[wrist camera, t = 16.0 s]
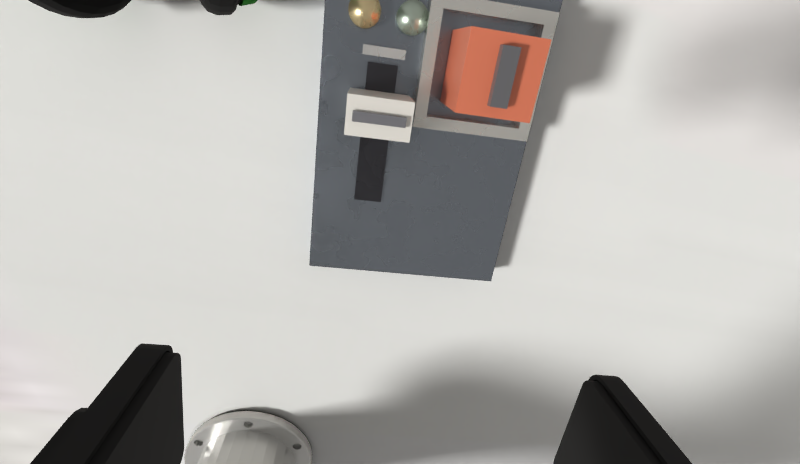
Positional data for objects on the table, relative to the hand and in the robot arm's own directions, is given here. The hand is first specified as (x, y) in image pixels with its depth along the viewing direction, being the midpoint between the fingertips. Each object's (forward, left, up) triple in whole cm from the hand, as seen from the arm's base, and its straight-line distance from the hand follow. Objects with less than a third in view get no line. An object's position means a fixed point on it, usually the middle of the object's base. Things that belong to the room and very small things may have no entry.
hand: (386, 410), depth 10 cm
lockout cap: (+7, -6, -23) cm, 25 cm away
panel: (+2, -3, -25) cm, 25 cm away
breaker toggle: (+4, 0, -23) cm, 23 cm away
